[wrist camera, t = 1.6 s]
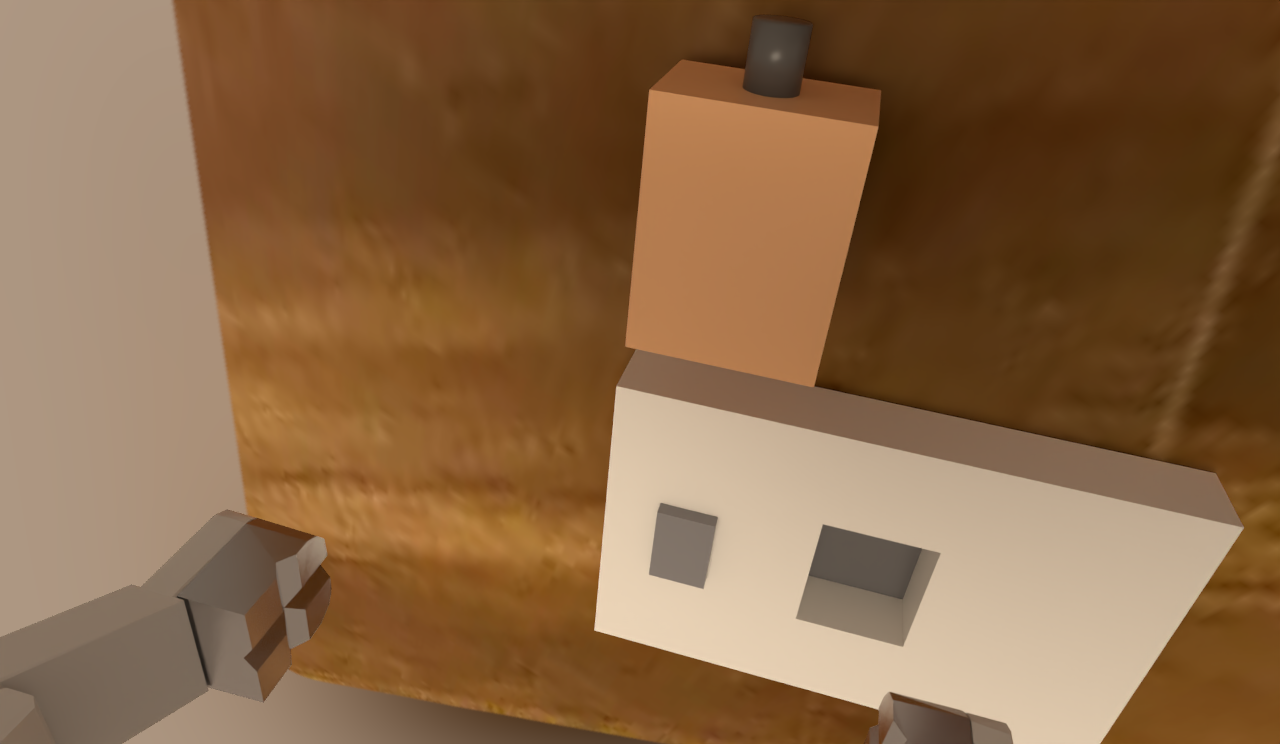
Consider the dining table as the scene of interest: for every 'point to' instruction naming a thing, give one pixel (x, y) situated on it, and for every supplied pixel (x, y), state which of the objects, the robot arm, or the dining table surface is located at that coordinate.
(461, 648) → the dining table surface
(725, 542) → the socket plate
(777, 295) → the plug
